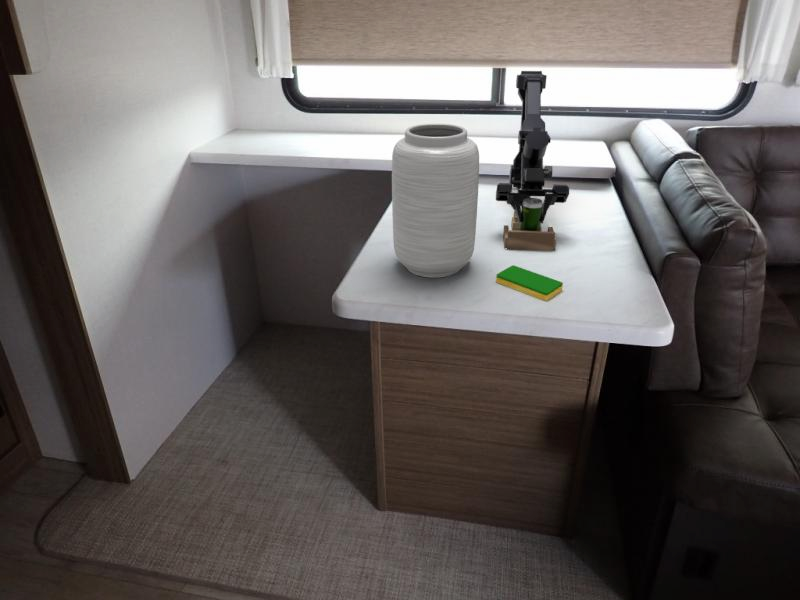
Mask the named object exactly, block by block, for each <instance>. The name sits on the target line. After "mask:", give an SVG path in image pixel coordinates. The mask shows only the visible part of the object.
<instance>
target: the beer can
mask: <svg viewBox="0 0 800 600" xmlns="http://www.w3.org/2000/svg"><path fill="white" fill-rule="evenodd" d="M543 202H544V200H542V199H541V198H537V197H530V198H526V199H524V200H523V203H522V205H521V223H520V231H540V227H541V228H542V225H541V224H542V223H541V218H542V210H543Z"/></svg>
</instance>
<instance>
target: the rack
mask: <svg viewBox="0 0 800 600" xmlns="http://www.w3.org/2000/svg"><path fill="white" fill-rule="evenodd" d="M502 234H503V235H502V236H503V237H502V238H503V245H504V247H503V248H504V249H505V248H507V249H506V250H508V249H509V250H512V251H513V250H514V251H515V250H516V251H536V252H537V251H538V252H539V251H540V252H541V251H543V252H554V251H555V250H556V246H557V245H556V244H557V237H556V232H555V230H554V228H553V226H547V231H543V230H541V231H516V230H512V229H510V228H509V224H507V225H505V224H504V225H503V233H502Z"/></svg>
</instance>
